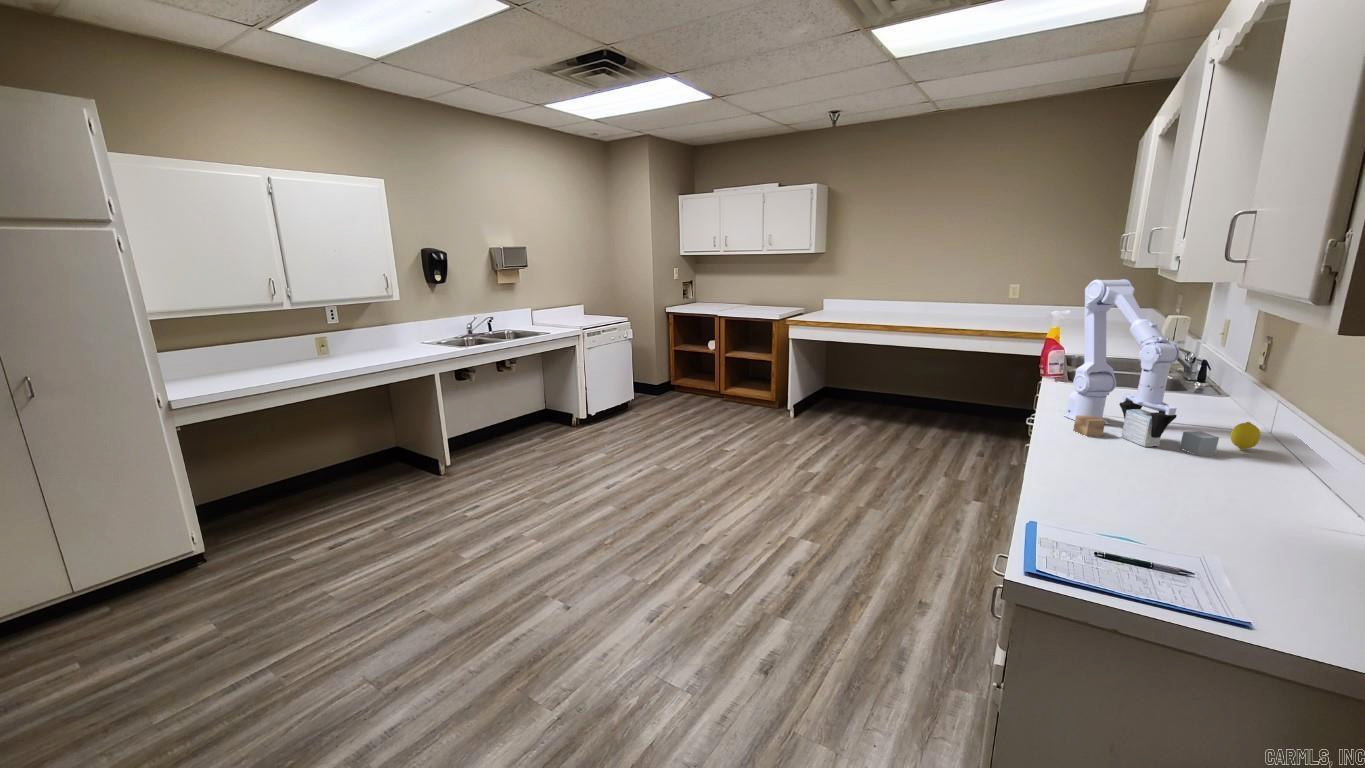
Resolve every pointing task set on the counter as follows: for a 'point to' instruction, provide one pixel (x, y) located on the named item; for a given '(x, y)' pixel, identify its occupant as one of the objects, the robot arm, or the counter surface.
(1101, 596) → the counter surface
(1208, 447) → the slate block
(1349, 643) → the counter surface
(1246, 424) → the lemon
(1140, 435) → the medicine box
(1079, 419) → the walnut block
